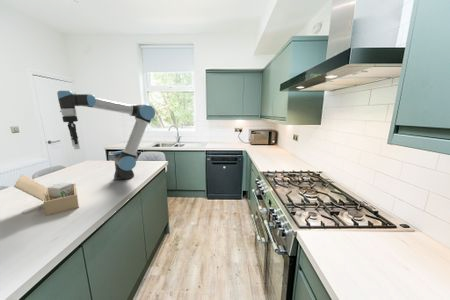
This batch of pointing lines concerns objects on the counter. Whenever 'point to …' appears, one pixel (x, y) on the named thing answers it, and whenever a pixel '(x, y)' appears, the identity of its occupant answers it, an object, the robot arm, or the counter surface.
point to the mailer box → (60, 203)
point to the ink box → (60, 190)
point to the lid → (31, 187)
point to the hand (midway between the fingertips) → (76, 147)
